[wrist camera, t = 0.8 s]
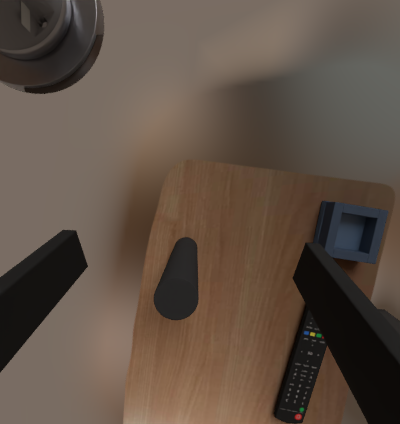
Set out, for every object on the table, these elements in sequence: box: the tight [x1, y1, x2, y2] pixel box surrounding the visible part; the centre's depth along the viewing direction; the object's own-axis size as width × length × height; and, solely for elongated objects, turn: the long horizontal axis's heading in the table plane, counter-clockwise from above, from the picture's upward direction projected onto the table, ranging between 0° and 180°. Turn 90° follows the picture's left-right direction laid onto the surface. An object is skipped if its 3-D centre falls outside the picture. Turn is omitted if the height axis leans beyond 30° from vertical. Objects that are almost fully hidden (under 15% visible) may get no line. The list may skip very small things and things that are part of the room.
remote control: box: [274, 306, 327, 424], centre depth 34 cm, size 5×24×1 cm, turn 166°
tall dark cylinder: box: [154, 237, 198, 320], centre depth 24 cm, size 4×4×16 cm
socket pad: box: [313, 201, 388, 264], centre depth 31 cm, size 9×9×3 cm
